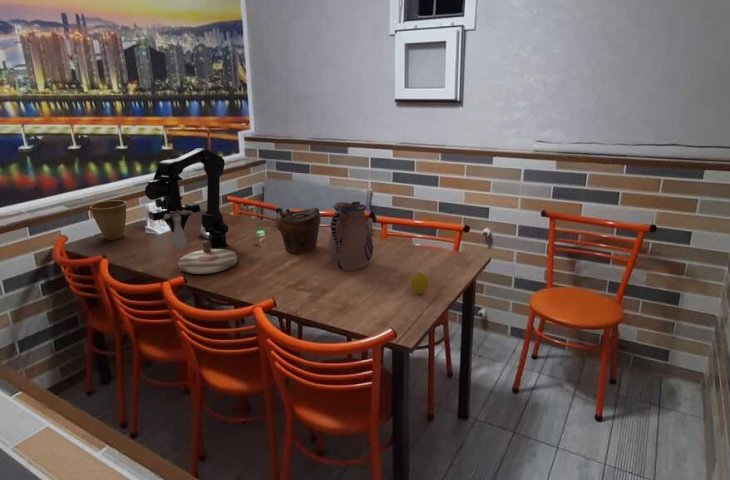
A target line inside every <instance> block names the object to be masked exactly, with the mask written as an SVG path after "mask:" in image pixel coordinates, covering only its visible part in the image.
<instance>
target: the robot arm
mask: <svg viewBox="0 0 730 480" xmlns="http://www.w3.org/2000/svg"><path fill="white" fill-rule="evenodd" d="M197 162H200V163H201V164H202V165H203V170H204V172H205V175H206V176H207V191H206V192H207V193H206V196H207V197H206V198H207V199H206V201H207V202H206V203H207V205H206V211H205V212H204V213H202V214H201V222H200V224H202V228H204V231H205V233H208V241H210V246H211V248H212V249H221V248H223V247H227V246H229V243H227V235H226V234H227V233H228V232H229V226H228V225H227V224H225V222H224V218H223V215H222V212H221V211H220V190H221V189H220V188H221V187H220V184H221V183H220V182H221V181H220V179H221V175H222V174H223V172H224V171H225V170H224V169H225V164H226V163H225V159H224V158H223V156H220V155H218V154H216V153H214V152H211V151H209V150H208V149H206V148H203V147H202V148H201V147H200V148H199V147H198V148H195V149H194V150H192V151H189V152H188V153H185V154H183V155H181V156H179V157H177V158H173V159H165V160H161V161H159V163H158V164H157V165H158V166H157V168H156V172H155V174H154V176H153V180H149V181H147V185H146V186H145V188H144V189H145V190H144V194H145V196H146V197H147V198H148V199H149V200H151V201H154V203H155V207H156V208H161V210H160V209H153V210H149V211H148V214H147V215H148V218H149V219H150V220H151V221H153V222H154V221H155V222H156V221H159V220H160V221H162V220H163V221H165V223H166V225H167V226H168V228H169V229H170V232H171V233H172V232H174V224H173V218H171V217H170V216H172V215H180V216H181V218H182V220H181V221H180V222H181V225H182V229H183V231H184V230H185V227H186V224H187V221H188V219H189V217H190V216H192V214H191V213H190V212H192V213H200V212H201V206H200V204H198V203H195V202H189V203H185V204H184V206H183V205H182V203H183V202H182V200H183V197H182V196H181V190H180V181H183V178H182V177H181V176H180V175H181V174H182V173H183V172H184V170H185V168H188V167H190V166H192V165H194V164H197ZM162 198H163V200H162Z"/></svg>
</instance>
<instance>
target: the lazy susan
mask: <svg viewBox="0 0 730 480" xmlns="http://www.w3.org/2000/svg"><path fill="white" fill-rule="evenodd" d="M201 242H202V249H201V250H200V249H199V250H196V251H193V252H190V253H186V254H185V255H183V256H182V257H180V258H179V259H178V267H179V269H180V270H181V271H182V272H184V273H187V274H194V275H195V274H197V275H198V274H199V275H203V274H212V273H218V272H221V271H225V270H228V269H230V268H232V267H234V266H235V265H236V264H237V262H238V256H237V253H236V252H234V251H233V250H230V249H223V248H212V247H211V246H210V241H209V240H204V241H201Z"/></svg>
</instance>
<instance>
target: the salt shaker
mask: <svg viewBox="0 0 730 480" xmlns="http://www.w3.org/2000/svg"><path fill="white" fill-rule="evenodd" d="M170 217H171V218H173V224H174V232H171V236H170V243H171V244H172V246H173V247H174V248H175V249H181V248H184V247H186V243H187V238H186V234H185V231H184V230H183V229H182V225H181V222H180V221H181V220H182V218H181V216H180V215H179V214H171V215H170Z"/></svg>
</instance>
